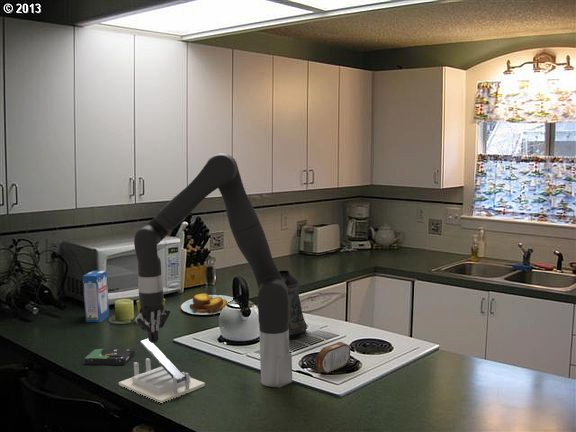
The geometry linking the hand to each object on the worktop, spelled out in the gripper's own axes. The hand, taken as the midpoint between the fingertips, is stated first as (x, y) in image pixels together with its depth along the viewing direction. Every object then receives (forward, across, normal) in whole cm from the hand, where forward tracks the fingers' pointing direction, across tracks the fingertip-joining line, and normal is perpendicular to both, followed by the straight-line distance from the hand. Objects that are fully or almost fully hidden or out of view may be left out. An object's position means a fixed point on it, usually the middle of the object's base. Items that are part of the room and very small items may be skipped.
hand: (153, 342), depth 206 cm
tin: (+14, +45, -37) cm, 60 cm away
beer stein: (+14, +61, -1) cm, 63 cm away
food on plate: (+14, +67, +51) cm, 85 cm away
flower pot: (+14, +40, +57) cm, 71 cm away
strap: (+6, 0, -4) cm, 7 cm away
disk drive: (+14, +3, +31) cm, 34 cm away
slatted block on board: (+14, 0, -3) cm, 14 cm away
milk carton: (+14, +27, +78) cm, 84 cm away
